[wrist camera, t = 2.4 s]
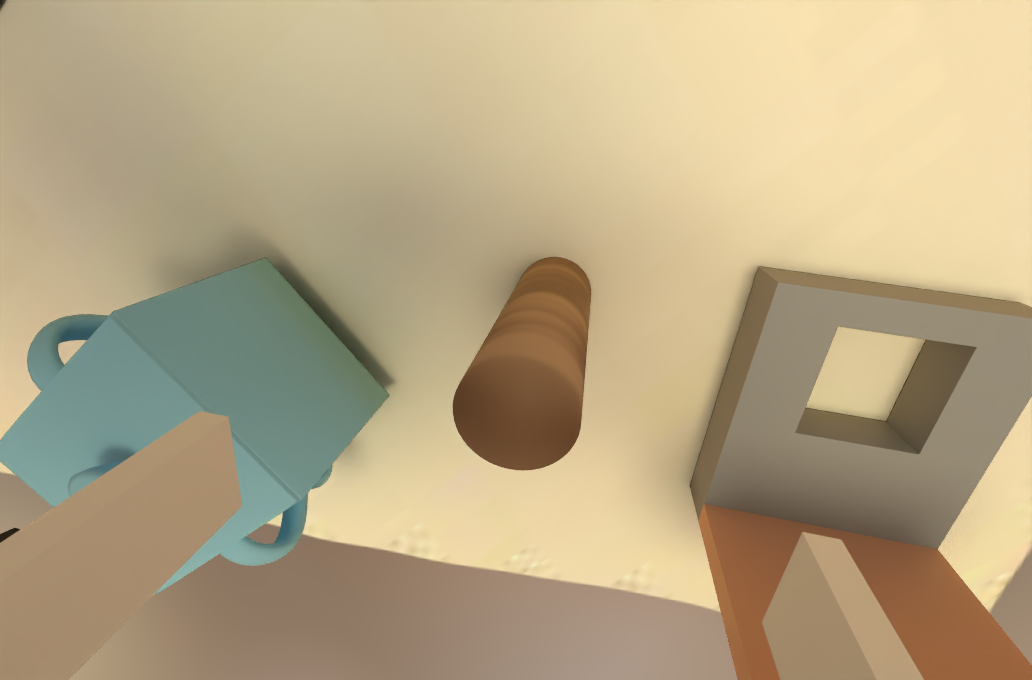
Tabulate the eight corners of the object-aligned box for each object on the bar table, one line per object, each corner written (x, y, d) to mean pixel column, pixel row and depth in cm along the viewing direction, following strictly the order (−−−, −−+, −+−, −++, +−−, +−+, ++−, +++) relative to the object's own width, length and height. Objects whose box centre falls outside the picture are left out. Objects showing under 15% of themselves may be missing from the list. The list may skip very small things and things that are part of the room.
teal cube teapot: (251, 215, 28) (-4, 271, 16) (426, 412, 31) (318, 578, 19) (106, 369, 34) (-152, 489, 23) (263, 520, 38) (108, 692, 26)
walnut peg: (522, 252, 26) (456, 347, 14) (596, 262, 26) (591, 369, 14) (515, 320, 28) (449, 457, 16) (584, 331, 27) (570, 480, 15)
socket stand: (752, 265, 24) (965, 448, 10) (1026, 303, 23) (1735, 580, 9) (682, 492, 30) (753, 813, 16) (897, 533, 29) (1190, 927, 14)
